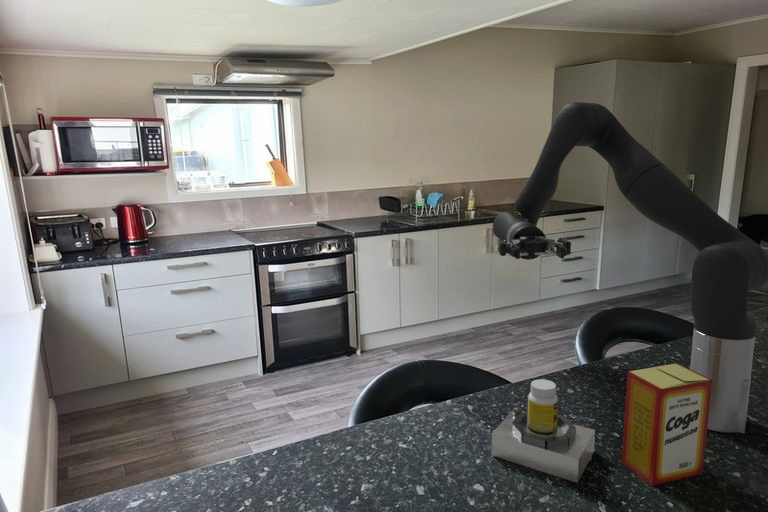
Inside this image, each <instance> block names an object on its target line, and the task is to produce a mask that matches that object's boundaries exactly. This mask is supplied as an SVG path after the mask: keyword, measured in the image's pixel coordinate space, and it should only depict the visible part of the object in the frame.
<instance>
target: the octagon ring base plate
mask: <svg viewBox="0 0 768 512" xmlns="http://www.w3.org/2000/svg"><path fill="white" fill-rule="evenodd" d="M527 424H528V411H524V410H523V407H521V406H514V407H512V411H510V413H509V414H508V415H507V416H506V417H505V419H503V420H502V422H501V423H499V425H498V426H497V427H496V428H495V429H494V430H493V432H491V456H493V457H496V458H499V459H502V460H504V461H508V462H511V463H515V464H517V465H520V466H523V467H527V468H529V467H530V469H532V470H536V471H539V472H543V473H545V474H548V475H551V476H554V477H557V478H561V479H564V480H566V481H567V480H568V481H570V482H573V483H576V484H578V483H579V481H580V479H581V477H582V476H583V474H584V471H585V470H586V468H587V466H588V464H589V462H590V460H591V458H592V456H593V454H594V452H595V438H596V429H592V428H590V427H585V426H582V425H578V424H574V423H572V422H571V421H570V419H568V418H567V417H566V416H564V415H563V414H558V415H557V433H556V435H555V436H553V437H550V438H543V437H540V436H536V435H533V434H531V433H530V432H529V431H528V429H527Z"/></svg>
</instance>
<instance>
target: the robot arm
mask: <svg viewBox="0 0 768 512" xmlns="http://www.w3.org/2000/svg"><path fill="white" fill-rule="evenodd" d="M575 147H588V148H590V149H592V150H593V151H595V152H596V153H597V154H599V156H601V157H602V159H604V160H605V161H606V162H607V163H608V165H609V166H610V167H611V170H612V172H613V176H614V178H615V183H616V185H617V187H618V190H619V191H620V193H621V194H622V195H623V197H624V198H625V199H626V200H627V201H628V202H629V203H630V204H631V205H632V206H633V207H634V208H635V209H636V210H637V211H638V212H639V213H640V214H641V215H643V216H644V217H645V218H646V219H648V220H650V221H652V222H653V223H655V224H657V225H659V226H660V227H662V228H664V229H666V230H668V231H670V232H672V233H674V234H676V235H678V236H680V237H681V238H682V239H684V240H686V241H687V242H688V243H690V244H691V245H692V246H693V247H694V248H695V249H696V250H698V252H699V253H697V255H696V257H695V259H694V262H693V264H692V270H691V280H690V281H691V283H690V285H691V286H690V287H691V288H690V311H691V315H692V317H693V321H694V322H693V332H692V334H693V335H692V343H691V356H690V367H689V369H690V370H692V371H695V372H697V373H699V374H701V375H703V376H705V377H707V378H709V379H712V387H711V397H710V407H709V417H708V427H707V430H710V431H714V432H720V433H738V434H739V433H740V434H746V433H745V432H746V424H747V417H748V410H749V409H748V406H749V399H750V392H751V391H750V390H751V382H752V381H751V377H752V366H753V359H754V358H753V357H754V351H755V350H754V349H755V341H756V334H757V333H756V332H757V321H756V319H755V317H753V316H752V315H749V313H748V297H749V296H748V295H749V292H752V291H754V290H757V289H760V288H762V287H764V286H766V284H768V253H767V252H766V250H765V249H764V248H763V247H762V246H761V245H760V244H758V243H757V242H756V241H755V240H753V239H752V238H751V237H749V236H748V235H746V234H744V233H743V232H742V231H741V230H739V229H738V228H736V227H735V226H733V225H732V224H731V223H730V222H729V221H727V220H725V218H723V217H722V216H720V215H719V214H718V213H717V212H715V210H713V208H711V207H710V206H709V205H708V204H707V203H706V202H705V201H704V200H703V198H701V197H700V196H699V195H698V194H697V193H695V192H694V191H693V190H692V189H691V188H690V187H688V185H687V184H685V182H684V181H683V180H682V179H681V178H680V177H679V176H677V175H676V174H675V173H674V172H673V171H672V170H671V169H670V168H669V167H668V166H667V165H665V164H664V163H663V162H662V161H660V160H659V159H658V158H657V157H656V156H654V155H653V153H652V152H650V151H649V149H647V148H646V147H644V146H643V144H641V143H640V142H638V141H637V140H636V138H634V137H633V136H632V135H631V134H630V132H629V131H628V130H627V129H626V128H625V127H624V126H623V124H622V123H621V122H620V121H619V120H618V119H617V117H616V116H615V115H614V114H613V113H612V112H611V111H610V110H609V109H608V108H607V106H604V105H602V104H599V103H596V102H595V103H594V102H582V101H574V102H569V103H568V104H566V105H564V106H563V107H562V108H561V109H560V111H559V112H558V113H557V115H556V118H555V120H554V121H553V123H552V126H551V129H550V131H549V133H548V135H547V138H546V141H545V143H544V145H543V147H542V150H541V153H540V155H539V157H538V160H537V163H536V164H535V167H534V168H533V171H532V173H531V175H530V177H529V178H528V180H527V181H526V183H525V184H524V186H523V188H522V189H521V190H520V193H519V194H518V195H517V197H516V199H515V201H514V207H515V208H514V209H516V211H517V212H518V213H519V214H520V215H521V216H519V215H517V214H515V213H513V212H511V211H503V212H502V211H501V212H500V213H499V214H498V215H496V217H495V219H494V221H493V224H492V232H493V234H494V236H495V237H496V238H498V247H497V248H498V253H499V256H500V257H505V256H507V254H508V255H509V257H512V258H514V259H516V260H520V259H522V260H527V261H530V260H531V261H532V260H534V259H537V258H539V257H540V256H541V255H542V256H546V257H547V256H548V257H550V256H557V257H559V259H565V257H567V256H569V255H571V253H572V252H571V249H572V242H571V241H569V240H567V239H565V238H563V237H558V238H557V240H555V239H553V238H549V237H548V238H547V237H546V234H545V232H544V231H543V230H541V229H540V228H539V227H537V225H538V222H539V220H540V217H541V216H542V214H543V212H544V210H545V209H546V207H547V205H548V204H549V203H550V201H551V200H552V198H553V197H554V195H555V192H556V191H557V188H558V184H559V178H560V177H559V176H560V175H559V174H560V171H561V168H562V164H563V163H564V161H565V159H566V158H567V156H568V155H569V154H570V153H571V151H572V150H573V149H574V148H575ZM555 248H556V249H555Z"/></svg>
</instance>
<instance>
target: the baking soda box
mask: <svg viewBox="0 0 768 512" xmlns="http://www.w3.org/2000/svg"><path fill="white" fill-rule="evenodd" d="M626 378H627V380H626V392H625V393H626V394H625V395H626V396H625V408H624V410H625V411H624V422H623V423H624V424H623V425H624V426H623V440H622V453H621V455H622V457H621V463H623V464H624V465H625V466H627V467H628V468H629V469H630V470H632V471H633V472H634V473H635V474H637V476H639V477H641V478H642V479H643V480H645V482H647V483H648V484H649V485H651V486H652V487H654V486H656V485H661V484H666V483H669V482H673V481H678V480H681V479H682V480H683V479H686V478H687V479H688V478H690V477H694V476H695V477H696V476H698V475H704V465H705V454H706V445H707V435H708V429H707V427H708V417H709V407H710V397H711V387H712V379H709V378H707V377H705V376H703V375H701V374H699V373H697V372H695V371H692V370H690V368H688V367H686V366H683V365H682V364H680V363H670V364H666V365H659V366H658V365H657V366H653V367H649V368H648V367H647V368H642V369H641V368H640V369H636V370H630V371H629V370H628V371H627V377H626Z"/></svg>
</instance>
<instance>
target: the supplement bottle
mask: <svg viewBox="0 0 768 512" xmlns="http://www.w3.org/2000/svg"><path fill="white" fill-rule="evenodd" d="M558 410H559V398H558V395H557V385H556V383H555V382H553V381H552V380H549V379H544V378H543V379H541V378H540V379H534V380H533V381H531V383H530V392H529V393H528V397H527V412H528V424H527V429H528V431H529V432H530V433H531V434H533V435H536V436H540V437H543V438H550V437H553V436H555V435H556V433H557V415H559V412H558Z"/></svg>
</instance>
